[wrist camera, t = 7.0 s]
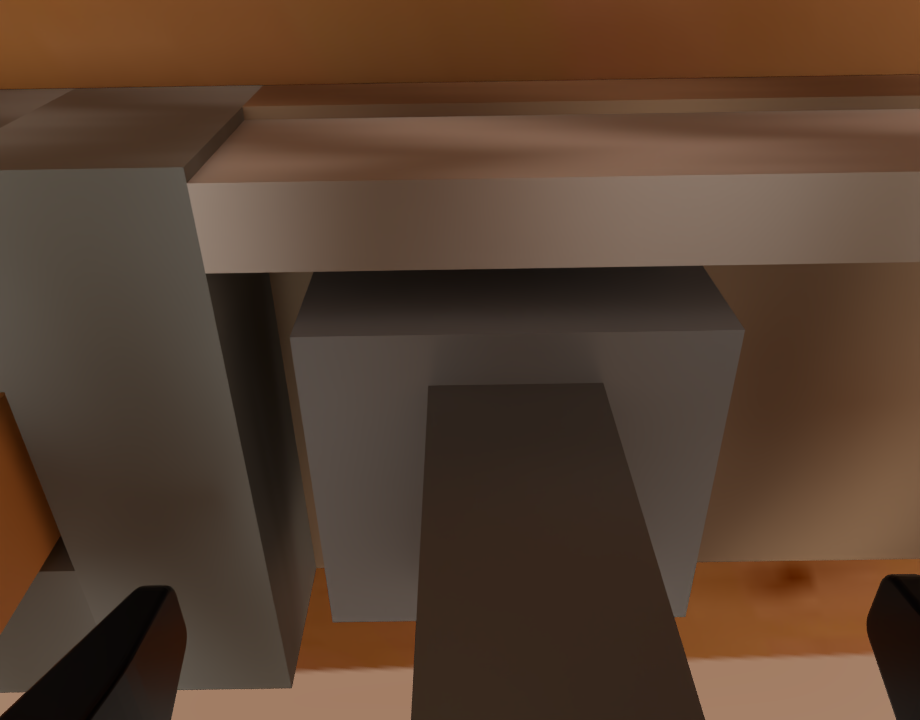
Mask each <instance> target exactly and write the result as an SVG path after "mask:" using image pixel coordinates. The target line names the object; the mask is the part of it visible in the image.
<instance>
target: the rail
mask: <svg viewBox="0 0 920 720" xmlns="http://www.w3.org/2000/svg"><path fill="white" fill-rule="evenodd" d="M640 266H703V267H704V269H705V270H706V272H707V273H708V275H709V276H710V278H711V279H712V281H713V282H714V284H715V285H716V287H717V288H718V290H719V291H720V293H721V294H722V296H723V297H724V299H725V300H726V302H727V303H728V305H729V306H730V308H731V309H732V311H733V312H734V314H735V315H736V317H737V319H738V320H739V322H740V323H741V325H742V326H743V328H744V329H745V333H744V338H743V342H742V347H741V352H740V357H739V362H738V366H737V371H736V376H735V381H734V386H733V390H732V395H731V400H730V405H729V410H728V414H727V419H726V424H725V429H724V434H723V438H722V443H721V448H720V453H719V458H718V462H717V467H716V472H715V477H714V482H713V486H712V491H711V496H710V501H709V506H708V510H707V515H706V520H705V525H704V530H703V534H702V539H701V544H700V549H699V554H698V558H697V562H739V561H804V560H869V559H920V74H919V75H858V76H797V77H736V78H676V79H615V80H554V81H493V82H432V83H372V84H311V85H250V86H189V87H129V88H68V89H7V90H0V392H4V393H5V395H6V398H7V400H8V403H9V405H10V408H11V410H12V413H13V415H14V418H15V420H16V423H17V425H18V428H19V430H20V433H21V436H22V438H23V441H24V443H25V446H26V448H27V451H28V453H29V456H30V458H31V461H32V463H33V466H34V468H35V471H36V474H37V476H38V479H39V481H40V484H41V486H42V489H43V491H44V494H45V496H46V499H47V501H48V504H49V506H50V509H51V511H52V514H53V517H54V519H55V522H56V524H57V527H58V529H59V532H60V534H61V536H60V537H59V539H58V541H57V542H56V544H55V546H54V547H53V549H52V551H51V552H50V554H49V556H48V557H47V559H46V560H45V562H44V564H43V565H42V567H41V569H40V570H39V572H38V574H37V575H36V577H35V579H34V580H33V582H32V583H31V585H30V587H29V588H28V590H27V592H26V593H25V595H24V597H23V598H22V600H21V602H20V603H19V605H18V606H17V608H16V610H15V611H14V613H13V615H12V616H11V618H10V620H9V621H8V623H7V625H6V626H5V628H4V629H3V631H2V633H1V634H0V693H5V692H27V691H28V690H29V689H30V688H31V687H32V686H33V685H34V684H35V683H36V682H37V681H38V680H39V679H40V678H41V677H42V676H44V675H45V674H46V673H47V672H48V671H49V670H50V669H51V668H52V667H53V666H54V665H55V664H56V663H57V662H58V661H59V660H60V659H62V658H63V657H64V656H65V655H66V654H67V653H68V652H69V651H70V650H71V649H72V648H73V647H74V646H75V645H76V644H77V643H78V642H80V641H81V640H82V639H83V638H84V637H85V636H86V635H87V634H88V633H89V632H90V631H91V630H92V629H93V628H94V627H95V626H96V625H98V624H99V623H100V622H101V621H102V620H103V619H104V618H105V617H106V616H107V615H108V614H109V613H110V612H111V611H112V610H113V609H115V608H116V607H117V606H118V605H119V604H120V603H121V602H122V601H123V600H124V599H125V598H126V597H127V596H128V595H129V594H130V593H131V592H133V591H134V590H135V589H137V588H138V587H140V586H145V585H168V586H171V587H172V588H173V589H174V590H175V592H176V595H177V598H178V601H179V605H180V608H181V611H182V614H183V618H184V621H185V624H186V628H187V645H186V650H185V655H184V660H183V664H182V669H181V674H180V679H179V683H178V688H177V690H198V689H199V690H204V689H205V690H206V689H271V688H292V684H293V679H294V674H295V670H296V665H297V660H298V655H299V650H300V645H301V640H302V635H303V630H304V625H305V620H306V615H307V610H308V606H309V601H310V596H311V591H312V586H313V581H314V576H315V571H316V568H325V567H324V561H323V554H322V547H321V541H320V534H319V528H318V521H317V514H316V508H315V501H314V495H313V488H312V481H311V475H310V468H309V462H308V455H307V449H306V442H305V435H304V429H303V422H302V416H301V409H300V402H299V396H298V389H297V383H296V376H295V369H294V363H293V356H292V350H291V343H290V335H291V332H292V329H293V327H294V324H295V321H296V318H297V316H298V313H299V310H300V307H301V305H302V302H303V299H304V297H305V294H306V291H307V288H308V286H309V283H310V280H311V277H312V275H313V272H328V271H390V270H453V269H515V268H577V267H640Z"/></svg>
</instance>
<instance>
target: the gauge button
mask: <svg viewBox="0 0 920 720" xmlns="http://www.w3.org/2000/svg"><path fill="white" fill-rule="evenodd" d="M60 536H61V534H60V532H59V529H58V527H57V524H56V522H55V519H54V517H53V514H52V511H51V509H50V506H49V504H48V501H47V499H46V496H45V494H44V491H43V489H42V486H41V484H40V481H39V479H38V476H37V474H36V471H35V468H34V466H33V463H32V461H31V458H30V456H29V453H28V451H27V448H26V446H25V443H24V441H23V438H22V436H21V433H20V430H19V428H18V425H17V423H16V420H15V418H14V415H13V413H12V410H11V408H10V405H9V403H8V400H7V398H6V395H5V393H4V392H0V634H1V633H2V631H3V629H4V628H5V626H6V625H7V623H8V621H9V620H10V618H11V616H12V615H13V613H14V611H15V610H16V608H17V606H18V605H19V603H20V602H21V600H22V598H23V597H24V595H25V593H26V592H27V590H28V588H29V587H30V585H31V583H32V582H33V580H34V579H35V577H36V575H37V574H38V572H39V570H40V569H41V567H42V565H43V564H44V562H45V560H46V559H47V557H48V556H49V554H50V552H51V551H52V549H53V547H54V546H55V544H56V542H57V541H58V539H59V537H60Z"/></svg>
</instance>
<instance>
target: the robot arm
mask: <svg viewBox="0 0 920 720" xmlns="http://www.w3.org/2000/svg"><path fill="white" fill-rule="evenodd" d="M867 633H868V637H869V640H870V643H871V646H872V649H873V652H874V655H875V658H876V661H877V664H878V667H879V670H880V673H881V676H882V679H883V681H884V685H885V688H886V690H887V694H888V696H889V699H890V702H891V705H892V708H893V711H894V714H895V717H896V720H920V575H917V574H891V575H887V576H886V577H885V578H883V579H882V581H881V583H880V586H879V588H878V591H877V593H876V596H875V598H874V601H873V603H872V606H871V608H870V611H869V614H868V617H867ZM186 645H187V628H186V624H185V621H184V618H183V614H182V611H181V608H180V605H179V601H178V598H177V595H176V592H175V590H174V589H173V588H172V587H171V586H168V585H145V586H140V587H138V588H137V589H135V590H134V591H133V592H131V593H130V594H129V595H128V596H127V597H126V598H125V599H124V600H123V601H122V602H121V603H120V604H119V605H118V606H117V607H116V608H115V609H113V610H112V611H111V612H110V613H109V614H108V615H107V616H106V617H105V618H104V619H103V620H102V621H101V622H100V623H99V624H98V625H96V626H95V627H94V628H93V629H92V630H91V631H90V632H89V633H88V634H87V635H86V636H85V637H84V638H83V639H82V640H81V641H80V642H78V643H77V644H76V645H75V646H74V647H73V648H72V649H71V650H70V651H69V652H68V653H67V654H66V655H65V656H64V657H63V658H62V659H60V660H59V661H58V662H57V663H56V664H55V665H54V666H53V667H52V668H51V669H50V670H49V671H48V672H47V673H46V674H45V675H44V676H42V677H41V678H40V679H39V680H38V681H37V682H36V683H35V684H34V685H33V686H32V687H31V688H30V689H29V690H28V691H27V692H26V693H25V694H23V695H22V696H21V697H20V698H19V699H18V700H17V701H16V702H15V703H14V704H13V705H12V706H11V707H10V708H9V709H8V710H7V711H5V712H4V713H3V714H2V715H1V716H0V720H171V716H172V712H173V707H174V703H175V697H176V693H177V688H178V683H179V679H180V674H181V669H182V664H183V660H184V655H185V650H186Z"/></svg>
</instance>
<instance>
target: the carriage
mask: <svg viewBox="0 0 920 720" xmlns="http://www.w3.org/2000/svg"><path fill="white" fill-rule="evenodd" d="M744 333H745V329H744V328H743V326H742V325H741V323H740V322H739V320H738V319H737V317H736V315H735V314H734V312H733V311H732V309H731V308H730V306H729V305H728V303H727V302H726V300H725V299H724V297H723V296H722V294H721V293H720V291H719V290H718V288H717V287H716V285H715V284H714V282H713V281H712V279H711V278H710V276H709V275H708V273H707V272H706V270H705V269H704V267H703V266H640V267H577V268H515V269H453V270H390V271H328V272H313V275H312V277H311V280H310V283H309V286H308V288H307V291H306V294H305V297H304V299H303V302H302V305H301V307H300V310H299V313H298V316H297V318H296V321H295V324H294V327H293V329H292V332H291V335H290V343H291V350H292V356H293V363H294V369H295V376H296V383H297V389H298V396H299V402H300V409H301V416H302V422H303V429H304V435H305V442H306V449H307V455H308V462H309V468H310V475H311V481H312V488H313V495H314V501H315V508H316V514H317V521H318V528H319V534H320V541H321V547H322V554H323V561H324V567H325V574H326V580H327V587H328V594H329V600H330V607H331V613H332V620H333V622H379V621H416V635H415V654H414V675H413V694H412V713H411V720H705V718H704V715H703V712H702V708H701V705H700V702H699V698H698V695H697V691H696V688H695V685H694V682H693V678H692V675H691V672H690V668H689V665H688V662H687V658H686V655H685V652H684V648H683V645H682V642H681V638H680V635H679V632H678V629H677V625H676V622H675V619H674V617H685V616H686V611H687V606H688V602H689V597H690V592H691V587H692V582H693V578H694V573H695V568H696V563H697V558H698V554H699V549H700V544H701V539H702V534H703V530H704V525H705V520H706V515H707V510H708V506H709V501H710V496H711V491H712V486H713V482H714V477H715V472H716V467H717V462H718V458H719V453H720V448H721V443H722V438H723V434H724V429H725V424H726V419H727V414H728V410H729V405H730V400H731V395H732V390H733V386H734V381H735V376H736V371H737V366H738V362H739V357H740V352H741V347H742V342H743V338H744Z"/></svg>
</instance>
